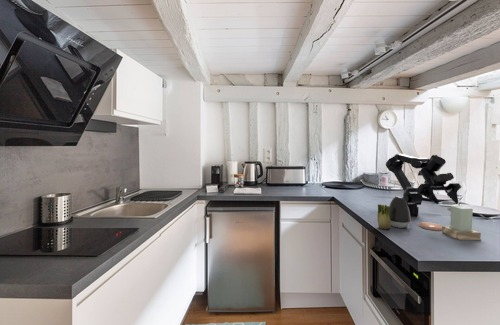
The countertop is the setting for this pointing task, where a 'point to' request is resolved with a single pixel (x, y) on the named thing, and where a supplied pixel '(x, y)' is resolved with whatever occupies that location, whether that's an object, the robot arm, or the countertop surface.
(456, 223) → the square plug
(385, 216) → the green drip glaze vase
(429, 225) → the pad
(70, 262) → the countertop surface
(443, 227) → the square socket
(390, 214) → the grey smart speaker
